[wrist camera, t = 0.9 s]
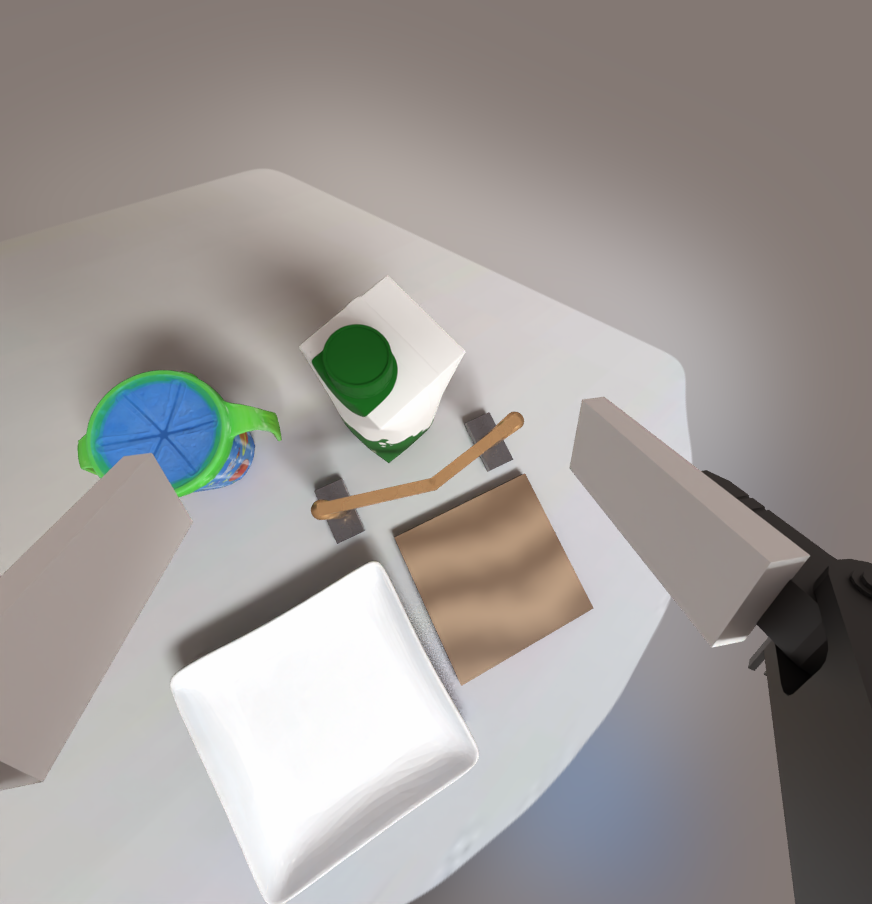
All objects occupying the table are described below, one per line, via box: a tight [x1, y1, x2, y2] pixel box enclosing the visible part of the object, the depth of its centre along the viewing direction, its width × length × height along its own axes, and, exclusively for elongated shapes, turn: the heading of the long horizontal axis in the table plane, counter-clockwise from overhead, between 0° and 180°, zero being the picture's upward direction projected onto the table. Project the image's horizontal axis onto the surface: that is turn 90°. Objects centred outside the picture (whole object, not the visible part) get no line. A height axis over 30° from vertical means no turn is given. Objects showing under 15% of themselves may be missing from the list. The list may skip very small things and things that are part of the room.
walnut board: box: [394, 474, 593, 686], centre depth 39 cm, size 16×16×1 cm
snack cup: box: [78, 370, 281, 497], centre depth 33 cm, size 16×11×10 cm
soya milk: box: [299, 275, 466, 463], centre depth 31 cm, size 9×9×20 cm
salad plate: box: [170, 561, 479, 904], centre depth 34 cm, size 21×21×3 cm
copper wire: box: [311, 412, 524, 544], centre depth 35 cm, size 6×21×10 cm, turn 116°
